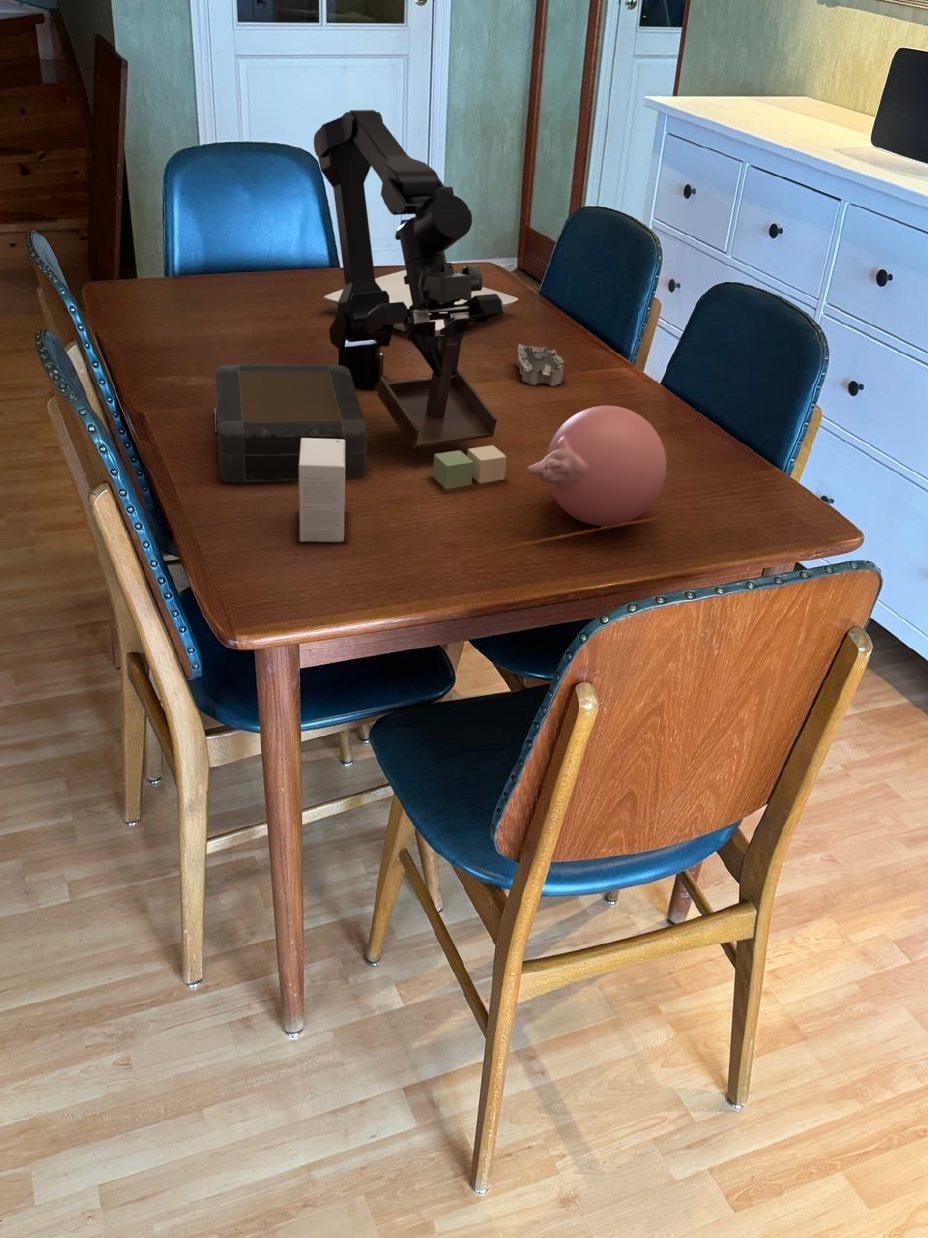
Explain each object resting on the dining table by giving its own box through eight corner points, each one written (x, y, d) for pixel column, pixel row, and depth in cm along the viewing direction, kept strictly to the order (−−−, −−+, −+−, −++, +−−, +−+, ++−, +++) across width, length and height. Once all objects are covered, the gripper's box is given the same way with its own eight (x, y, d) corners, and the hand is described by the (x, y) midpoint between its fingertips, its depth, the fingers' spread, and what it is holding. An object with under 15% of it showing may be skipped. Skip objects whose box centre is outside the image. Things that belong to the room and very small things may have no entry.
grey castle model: (563, 387, 186) (566, 364, 184) (518, 385, 186) (521, 361, 184) (557, 364, 195) (560, 342, 193) (515, 362, 195) (517, 339, 193)
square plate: (409, 284, 229) (410, 265, 227) (519, 316, 217) (521, 296, 215) (321, 312, 210) (321, 292, 208) (435, 348, 198) (437, 327, 196)
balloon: (488, 509, 147) (498, 400, 139) (612, 485, 156) (628, 381, 147) (549, 563, 136) (564, 448, 128) (679, 535, 145) (700, 425, 136)
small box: (301, 512, 143) (300, 436, 137) (344, 513, 143) (345, 437, 138) (298, 542, 136) (297, 464, 130) (344, 543, 137) (345, 465, 131)
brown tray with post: (377, 395, 160) (387, 318, 152) (454, 385, 166) (469, 310, 157) (413, 448, 153) (426, 370, 144) (493, 436, 158) (510, 361, 149)
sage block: (434, 453, 151) (446, 465, 148) (460, 449, 153) (473, 461, 150) (432, 480, 153) (445, 492, 150) (458, 476, 155) (471, 488, 152)
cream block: (467, 448, 153) (481, 460, 150) (493, 444, 155) (506, 456, 152) (465, 474, 155) (478, 486, 152) (490, 470, 157) (504, 482, 154)
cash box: (214, 412, 168) (211, 362, 163) (348, 410, 172) (348, 362, 167) (215, 485, 147) (212, 432, 143) (367, 482, 151) (368, 429, 147)
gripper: (384, 247, 141) (407, 370, 142) (511, 239, 149) (532, 355, 150) (355, 273, 151) (376, 387, 152) (476, 265, 159) (496, 373, 160)
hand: (446, 375), depth 153 cm, fingers closed on brown tray with post
